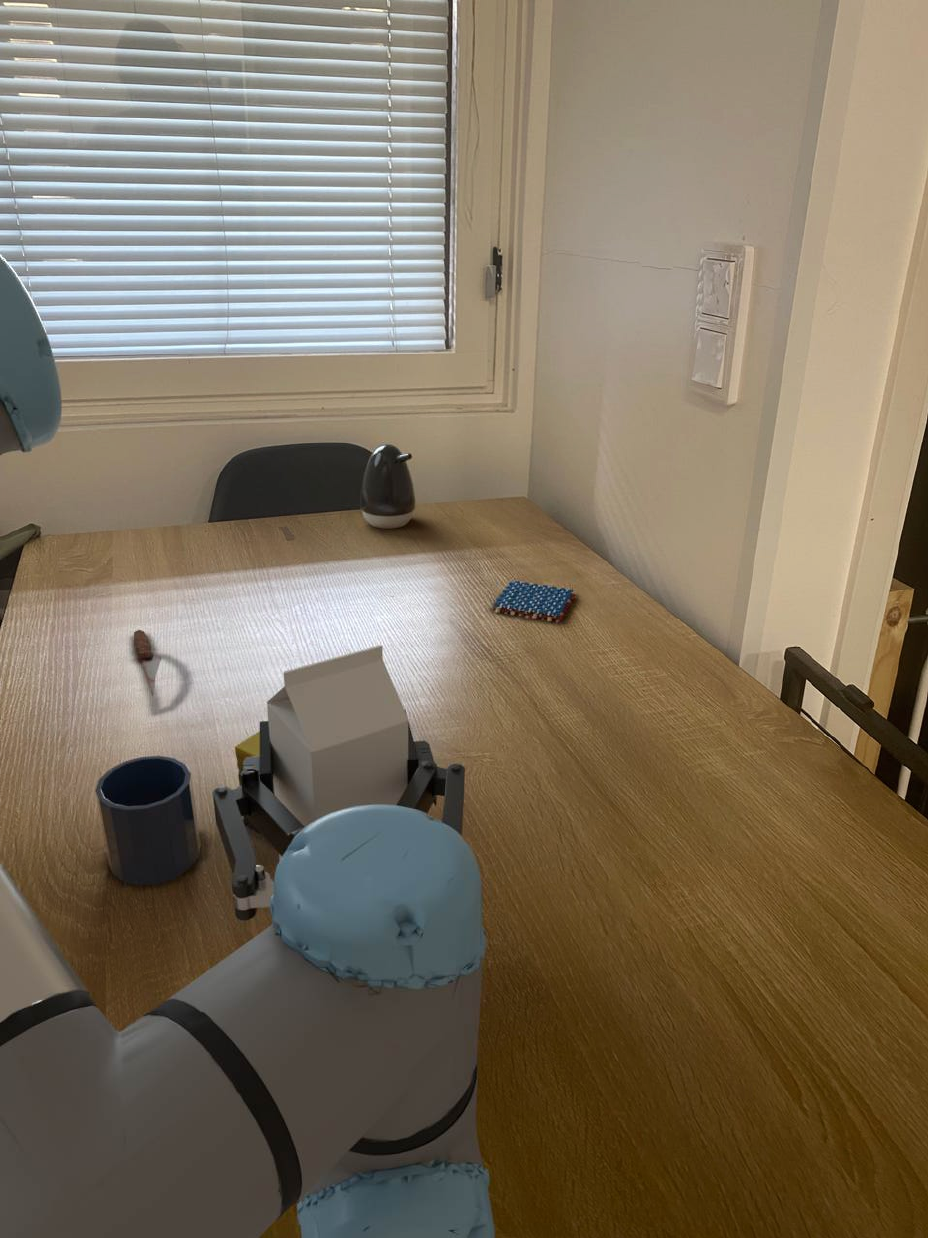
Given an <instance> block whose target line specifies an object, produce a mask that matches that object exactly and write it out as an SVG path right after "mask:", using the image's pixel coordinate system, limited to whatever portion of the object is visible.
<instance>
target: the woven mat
mask: <svg viewBox="0 0 928 1238" xmlns="http://www.w3.org/2000/svg"><path fill="white" fill-rule="evenodd" d="M575 597H576V594H575V593H574V589H572V588H571V589H569V588H565V587H556V586H555V585H553V586H551V585H547V584H544V585H541V584H538V583H536V582H535V583H532V582H530V583H529V582H527V581H525V582H523V581H520V580H514V581H509V582H508V585H505V589H503V590H502V593H500V594H499V597H497V598H496V601H494V602H493V603H492V604H493V606H494V607H493V608H492V611H493V612H494V613H495V614H500V613H504V614H505V615H507V614H508V613H510V616H513V617H514V616H515V615H516V614H518V617H522V616H524V615H525V617H524V618H525V619H529V618H531V619H532V620H537V619H542V621H543V620H545V619H547V621H546V622H553V620H555V622H556V623H559V622H560V621H562V620H563V618H566V613H567V612H568V609H569V607H570V606H571V605H572V604H573V603H572V602H573V601H574V599H575Z"/></svg>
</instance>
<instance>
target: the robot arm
mask: <svg viewBox="0 0 928 1238" xmlns="http://www.w3.org/2000/svg"><path fill="white" fill-rule="evenodd" d="M58 371H59V370H58V367H57V363H56V360H55V355H54V353H53V350H52V347H51V343H50V339H49V337H48V333H47V331H46V328H45V326H44V322H43V321H42V319H41V316H40V314H39V311H38V309H37V307H36V305H35V303H34V301H33V299H32V298H31V295H30V293H29V292H28V290H27V288H26V287H25V284H24V283H23V282H22V280H21V279H20V277H19V275H18V274H17V272H16V271H15V269H13V267H12V265H10V264H9V262H8V261H7V260H6V259H5V258H4V256H3V255H1V253H0V456H2V455H4V454H6V453H11V452H17V451H21V452H22V453H24V454H25V453H31V452H32V451H33V449H34V448H37V447H40V446H43V445H46V444H48V443H49V442H51V441H52V440H53V439H54V437H55V436H56V434H57V433H58V430H59V428H60V425H61V420H62V407H63V406H62V405H63V404H62V402H63V401H62V400H63V399H62V388H61V382H60V377H59V372H58ZM404 710H405V713H406V715H407V716H408V714H407V710H406V709H404ZM259 731H260V756H253V757H246V758H245V759H244V761H243V771H242V772H241V785H240V786H237V787H235V788H233V789H232V788H231V787H229V786H226V785H225V786H224V785H223V786H219V787H216V788H215V789H213V791H212V798H213V806H214V807H213V808H214V809H213V810H214V816H215V817H214V819H215V825H216V828H217V831H218V834H219V837H220V839H221V840H220V841H221V842H222V845H223V849H224V851H225V854H226V855H225V856H226V857H227V860H228V863H229V865H230V869H231V873H232V877H231V888H232V897H233V898H232V899H233V906H234V907H233V908H234V915H235V916H234V917H235V918H236V919H237V920H240V921H243V922H244V921H250V920H252V919H253V918H254V917H255V916H256V914H257V912H258V909H266V908H267V909H269V913H270V915H271V918H272V919H271V920H272V922H271V924H270V925H269V926H268V927H266V928H265V929H264V930H263V931H261V932H260V933H258V934H257V935H256V936H254V937H252V938H251V939H250V940H248V941H247V942H246V943H244V944H243V945H242V946H240V947H239V948H237V949H236V950H234V951H233V952H232V953H230V954H229V955H227V956H226V957H225V958H223V959H222V960H220V961H219V962H218V963H216V964H214V966H212V967H211V968H209V969H208V970H207V971H205V972H204V973H203V974H200V976H198V977H197V978H195V979H194V980H193V981H191V982H190V983H188V984H186V985H185V986H184V987H182V988H181V989H180V990H179V991H177V992H176V993H174V994H173V995H172V996H170V997H169V998H167V999H166V1000H164V1001H162V1002H161V1003H160V1004H159V1005H157V1006H156V1007H154V1008H153V1009H151V1010H150V1011H148V1012H146V1013H145V1014H144V1015H142V1016H141V1017H140V1018H138V1019H137V1020H135V1021H134V1022H133V1023H131V1024H130V1025H128V1026H127V1027H125V1028H124V1029H122V1030H120V1031H119V1030H117V1029H116V1028H115V1027H113V1026H112V1024H111V1023H110V1021H109V1019H107V1018H106V1016H105V1015H104V1014H103V1012H102V1011H101V1009H99V1007H98V1005H97V1004H96V1003H95V1001H94V1000H93V999H92V997H91V996H90V990H89V989H88V987H87V986H86V985H85V983H84V982H83V980H82V979H81V977H80V976H79V974H78V973H77V971H76V970H75V969H74V967H73V966H72V965H71V963H70V961H69V960H68V959H67V956H65V954H64V953H63V952H62V950H61V948H60V947H59V946H58V944H57V942H56V941H55V940H54V938H53V936H52V935H51V934H50V932H49V930H48V929H47V928H46V926H45V925H44V924H43V922H42V920H41V919H40V918H39V916H38V915H37V914H36V912H35V910H34V909H33V908H32V906H31V905H30V903H29V902H28V900H27V899H26V897H25V896H24V895H23V893H22V891H21V890H20V889H19V887H18V886H17V884H16V882H15V881H14V880H13V878H12V877H11V876H10V874H9V873H8V871H7V870H6V867H4V865H3V863H2V862H1V861H0V1238H261V1236H262V1235H263V1234H264V1233H265V1232H266V1231H267V1230H268V1229H269V1228H270V1227H271V1226H272V1225H273V1224H274V1223H275V1222H276V1221H277V1220H279V1219H280V1218H281V1217H282V1216H283V1215H284V1214H285V1213H286V1212H287V1211H288V1210H289V1209H290V1208H291V1207H292V1206H294V1205H296V1215H297V1217H296V1219H297V1224H298V1225H299V1226H300V1234H301V1236H300V1237H301V1238H496V1237H495V1234H496V1230H495V1223H494V1218H493V1212H492V1211H493V1210H492V1205H491V1200H490V1193H489V1186H490V1183H491V1177H490V1174H489V1169H488V1168H485V1167H484V1166H485V1165H484V1162H483V1159H482V1154H481V1149H480V1145H479V1139H478V1130H477V1120H476V1119H477V1102H478V1101H477V1096H478V1079H479V1078H478V1077H479V1065H478V1048H479V1047H478V1046H479V1033H480V1032H479V1031H480V1030H479V1029H480V1017H481V1016H480V1015H481V1002H482V1001H481V1000H482V983H483V970H484V969H483V968H484V958H485V956H486V949H487V947H488V944H487V939H488V936H487V934H486V930H485V927H484V925H483V889H482V877H481V876H482V875H481V871H480V870H481V869H480V865H479V863H478V860H477V858H476V855H475V853H474V851H473V849H472V848H471V846H470V845H469V844H468V842H467V840H465V839H464V837H463V823H464V822H463V821H464V805H465V783H466V781H465V780H466V768H465V766H464V765H462V764H460V763H451V764H449V765H447V768H444V767H439V766H438V765H437V763H436V762H435V759H434V756H433V752H432V749H431V745H430V744H429V742H427V741H426V740H416V741H415V740H414V737H413V733H412V728H411V725H410V721H409V720H408V786H407V788H406V789H405V791H404V793H403V794H402V796H401V798H400V800H399V801H398V803H397V805H384V804H382V805H362V806H356V807H350V808H346V809H342V810H339V811H336V812H333V813H330V814H328V815H326V816H323V817H321V818H319V819H318V820H316V821H314V822H312V823H311V824H309V825H308V826H306V827H305V826H304V825H303V824H302V823H301V822H300V821H299V820H298V819H297V818H296V817H295V816H294V815H293V814H292V813H291V812H290V811H289V810H288V809H287V808H286V807H285V806H284V805H283V804H282V803H281V802H280V801H279V800H278V799H277V798H276V797H275V795H274V791H273V766H272V754H271V742H270V735H269V723H268V720H261V721H259ZM437 796H438V797H439V796H440V797H444V798H443V806H442V807H443V808H442V819H437V818H434V817H432V816H431V815H429V814H428V813H429V811H430V810H431V808H432V806H433V804H434V806H437V799H438V797H437ZM243 816H246V817H247V818H248V820H249V821H250V822H251V823H252V824H253V825H254V826H255V827H256V828H257V830H258V831H259V832H260V833H261V834H262V835H261V834H260V835H261V836H263V838H264V839H265V840H266V841H267V842H268V843H269V845H271V847H273V849H274V850H275V851H276V852H277V853H278V855H279V854H280V855H281V856H282V857H281V860H280V859H279V862H278V863H277V865H276V868H275V873H274V877H273V879H272V877H271V873H270V872H268V871H266V870H265V869H266V868H265V865H262V864H258V863H257V862H258V861H257V854H256V850H255V848H254V846H253V842H252V840H251V837H250V834H249V832H248V829H247V826H245V824H244V821H243Z"/></svg>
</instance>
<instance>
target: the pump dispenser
mask: <svg viewBox="0 0 928 1238" xmlns="http://www.w3.org/2000/svg"><path fill="white" fill-rule="evenodd" d="M412 458H413V454H412V453H410V452H409V453H404V454H403V453H402V451H401V450H400V449H399V448H398V446H396V445H393V444H390V443H384V444H381V445H379V446H377V447H376V448H375V449H374V450H373V451H372V453H371V455H370V457H369V459H368V462H367V464H366V467H365V469H364V473H363V476H362V482H361V488H360V495H359V508H360V510H361V512H362V516H363V518H364V519H365V521H366V522H367V523H368V524H369V525H370V526H372V527H373V528H377V529H382V530H383V529H385V530H391V529H398V528H399V529H400V528H403V527H404V526H406V525H407V524H408V523H409V522H410V521H411V519H412V517H413V515H414V512H415V510H416V508H417V501H416V493H415V492H416V491H415V486H414V482H413V478H412V475H411V471H410V468H409V465H408V463H407V461H409V460H412Z"/></svg>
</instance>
